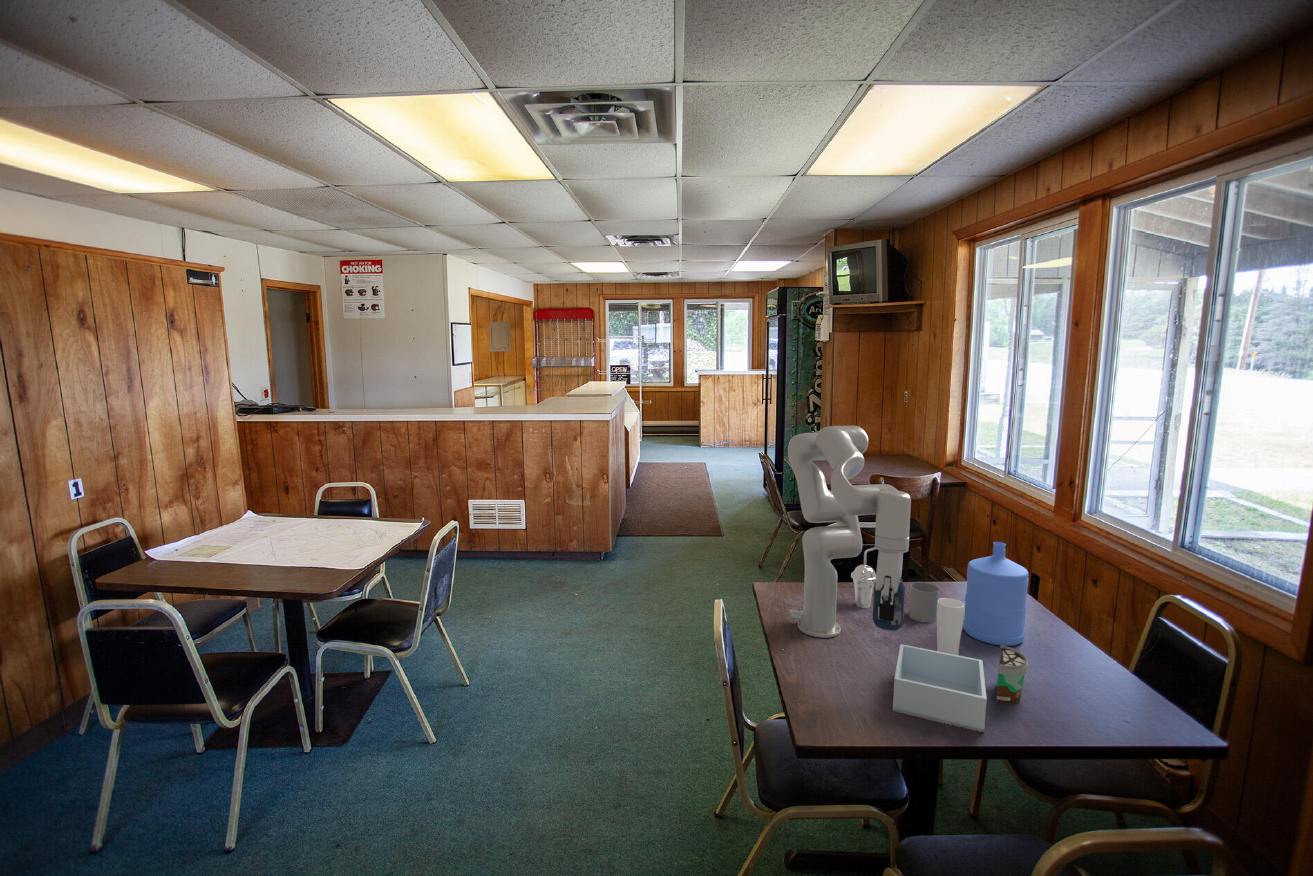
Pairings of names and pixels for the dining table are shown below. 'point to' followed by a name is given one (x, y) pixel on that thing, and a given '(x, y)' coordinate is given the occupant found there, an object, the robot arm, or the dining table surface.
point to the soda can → (898, 609)
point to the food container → (1010, 675)
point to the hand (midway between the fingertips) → (888, 613)
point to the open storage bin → (940, 687)
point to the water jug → (996, 599)
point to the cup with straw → (864, 583)
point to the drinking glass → (949, 625)
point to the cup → (923, 601)
